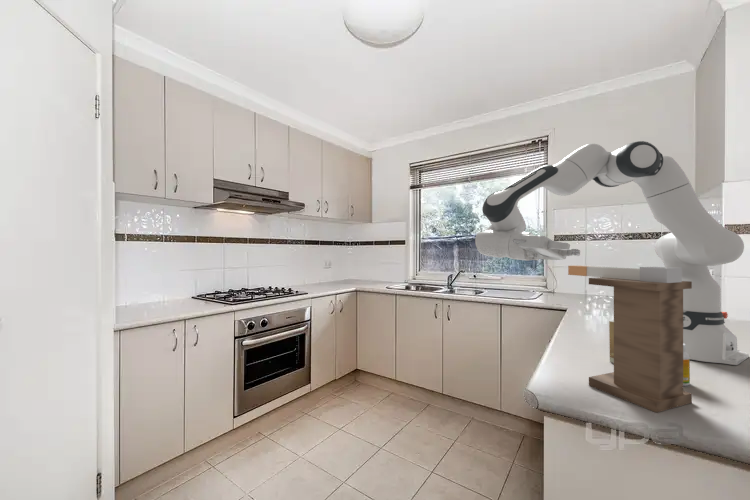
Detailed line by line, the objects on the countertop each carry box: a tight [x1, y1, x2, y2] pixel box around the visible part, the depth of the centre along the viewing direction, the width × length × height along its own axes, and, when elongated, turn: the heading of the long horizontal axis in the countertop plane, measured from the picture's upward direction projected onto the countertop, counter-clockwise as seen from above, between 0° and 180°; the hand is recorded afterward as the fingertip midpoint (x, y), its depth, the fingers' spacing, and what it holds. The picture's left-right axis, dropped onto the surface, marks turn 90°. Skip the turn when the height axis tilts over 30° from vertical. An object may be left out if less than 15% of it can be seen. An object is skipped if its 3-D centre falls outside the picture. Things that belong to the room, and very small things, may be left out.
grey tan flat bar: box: [567, 264, 682, 283], centre depth 78 cm, size 5×23×3 cm, turn 20°
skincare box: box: [608, 320, 614, 364], centre depth 93 cm, size 6×4×12 cm
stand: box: [588, 277, 693, 413], centre depth 73 cm, size 12×14×26 cm
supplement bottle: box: [683, 343, 691, 387], centre depth 80 cm, size 5×5×10 cm
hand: (574, 249), depth 90 cm, fingers open, 8 cm apart
